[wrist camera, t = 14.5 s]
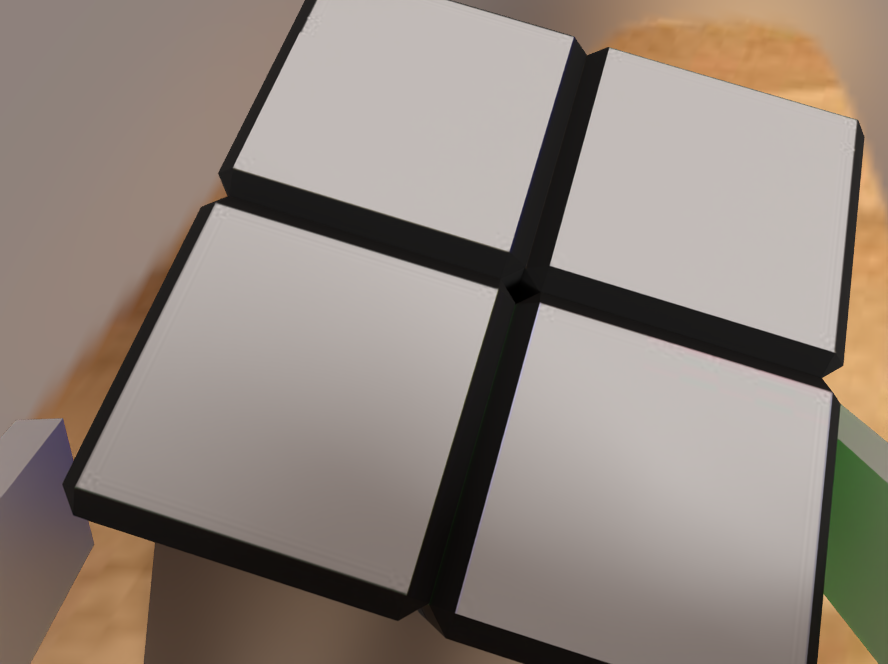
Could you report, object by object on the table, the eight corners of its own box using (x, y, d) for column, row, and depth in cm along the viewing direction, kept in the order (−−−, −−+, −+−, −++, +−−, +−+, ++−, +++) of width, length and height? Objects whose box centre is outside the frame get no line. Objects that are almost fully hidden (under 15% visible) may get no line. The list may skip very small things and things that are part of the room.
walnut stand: (193, 830, 21) (119, 921, 15) (222, 382, 25) (175, 324, 20) (645, 794, 22) (733, 865, 16) (590, 373, 27) (645, 316, 21)
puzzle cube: (350, 227, 21) (320, -54, 12) (661, 321, 21) (878, 109, 12) (221, 549, 18) (35, 508, 8) (593, 669, 17) (827, 764, 8)
